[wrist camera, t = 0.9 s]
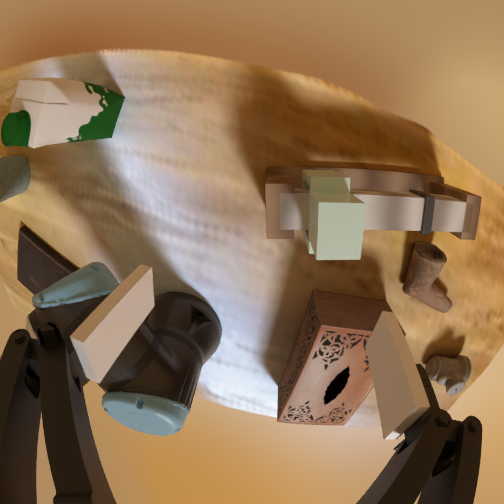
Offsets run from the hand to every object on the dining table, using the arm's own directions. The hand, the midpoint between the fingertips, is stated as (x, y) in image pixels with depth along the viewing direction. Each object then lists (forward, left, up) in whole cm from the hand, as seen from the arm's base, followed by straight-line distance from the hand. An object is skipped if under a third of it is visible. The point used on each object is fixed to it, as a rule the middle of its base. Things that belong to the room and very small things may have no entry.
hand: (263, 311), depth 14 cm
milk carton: (-27, +17, -27) cm, 42 cm away
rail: (+14, +1, -27) cm, 31 cm away
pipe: (+29, -13, -28) cm, 42 cm away
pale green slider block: (+6, +1, -22) cm, 23 cm away
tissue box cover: (+11, -29, -28) cm, 41 cm away
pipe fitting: (+42, -37, -27) cm, 62 cm away
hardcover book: (-50, -14, -28) cm, 59 cm away
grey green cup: (-53, +11, -27) cm, 61 cm away
